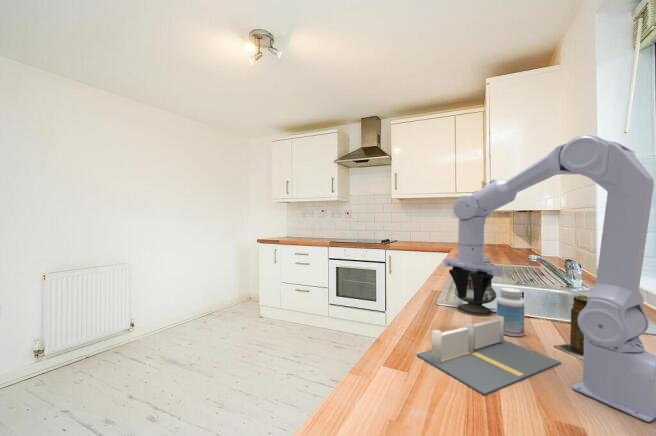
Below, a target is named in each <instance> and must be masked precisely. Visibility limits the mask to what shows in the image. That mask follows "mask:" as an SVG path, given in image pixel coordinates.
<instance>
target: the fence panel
mask: <svg viewBox="0 0 656 436" xmlns="http://www.w3.org/2000/svg"><path fill="white" fill-rule="evenodd" d="M473 324H474V349H478V348H481V347H484V346H488V345H491V344H495V343H498V342H503V340H504V334H503V332H504V317H502V316H497V315H495V316H494V319H490V320H485V321H481V322H477V323H473Z"/></svg>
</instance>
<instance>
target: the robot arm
mask: <svg viewBox="0 0 656 436" xmlns="http://www.w3.org/2000/svg"><path fill="white" fill-rule="evenodd" d="M557 175H560V176H561V175H581V176H584V177H586V178H588V179H590V180H592V181H593V182H594V183H596V184H597V185H598V186H599V187H601V188H602V189H603V190H605V191H606V192H607V196H606V203H605V209H604V210H605V211H604V219H603V225H602V233H601V241H600V247H599V248H600V250H599V254H598V255H599V256H598V264H597V271H596V272H597V273H596V279H595V284H594V286H593V288H592V289H591V291H590V292H589V295H588V296H587V297H588V300H587V304H586V306H585V308H584V309H583V310H582V311H581V312H580V313H579V316H578V325H579V328H580V330H581V331H582V333H583V334H584V360H583V371H582V372H583V374H582V375H583V376H582V380H581V381H579V382H577V383H575V384H573V385H572V386H571V388H572V389H573V390H574V391H576V392H578V393H580V394H583V395H586V396H588V397H590V398H591V399H595V400H597V401H599V402H601V403H604V404H606V405H608V406H610V407H613V408H616V409H618V410H619V411H622V412H624V413H626V414H629V415H631V416H633V417H634V418H638V419H639V420H643V421H645V422H648V423H650V422H652V421H654V419H656V355H654V354H653V353H651V352H649V351H647V350H645V345H644V343H643V342H642V339H641V338H640V336H642V335H643V334H645V333H646V332H647V330H648V328H649V325H650V324H649V318H648V316H647V314H646V313H645V310H644V297H643V295H642V292H641V290H640V284H641V277H642V271H643V270H642V269H643V264H644V259H645V258H644V257H645V250H646V243H647V237H648V236H647V235H648V229H649V221H650V217H651V216H650V215H651V207H652V201H653V194H654V187H655V181H654V177H653V176H652V175H651V174H650V172H649V171H648V170H647V169H646V167H645V166H644V165H643V164H642V162H641V161H640V160H639V159H638V157H637V156H636V154H635V151H634V150H632V149H631V148H628V147H627V146H625V145H622V144H620V143H619V142H616V141H612V140H611V141H610V140H606V139H603V138H601V137H600V136H598V135H594V134H581V135H577V136H575V137H574V138H572V139H570V140H569V141H567V142H566V143H563V144H560V145H558V146H555V147H554V148H553V149H552V151H550V152H549V153H548V154H547V155H545V156H543V157H542V158H540V159H539V160H537V161H536V162H534V163H532V164H530V165H529V166H528V167H526V168H524V169H523V170H521V171H520V172H518V173H517V174H515V175H513V176H512V177H510V178H509V179H507V180H506V179H503V178H498V179H495V178H494V179H491V180H489V182H488V185H486V186H485V187H483V188H481V189H479V190H474V191H473V192H472V193H471V195H470V196H469V195H461V196H460V197H459V198H457V199H456V201H455V202H454V205H453V212H454V215H455V216H456V217H457V218H458V236H457V237H458V241H457V242H458V245H457V247H458V249H457V252H458V253H457V259H456V258H454V259H453V258H444V259H443V261H444V263H443V266H444V267H450V269H449V271H448V273H449V275H451V276H450V277H452V280H453V283H454V285H455V288H456V289H457V293H458V297H459V298H458V297H457V298H458V299H460V298H465V297H466V295H467V282H468V277H469V273H470V271H475V272H477V273H471V278H472V282H473V288H474V302H475V303H479V302H482V300H483V297H484V293H485V291H486V288H487V286H488V284H489V283H490V281H491V282H492V279H494V277H501V276H502V275H503V274H502V273H503V269H502V268H503V267H502V266H498V265H495V266H493V265H489V264H485V263H484V255H485V225H486V220H487V218H488V216H489V215H490V213H492V212H494V211H495V210H497V209H500V208H502V207H504V206H506V205H508V204H510V203H512V202H514V201H515V200H516V197H517V194H518V193H520V192H521V191H524V190H526V189H528V188H531V187H532V186H534V185H537V184H539V183H541V182H544V181H546V180H548V179H550V178H552V177H554V176H557ZM467 267H468V268H467ZM451 268H452V269H451ZM473 268H476V269H473Z"/></svg>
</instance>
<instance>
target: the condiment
mask: <svg viewBox="0 0 656 436" xmlns="http://www.w3.org/2000/svg"><path fill="white" fill-rule="evenodd" d="M572 300H573V304H572V308H571V309H570V334H569V335H570V342H569V344H565V343H563V344H555V345H552V346H553V347H555V348H557V349H559V350H560V351H562V352H565V353H568V354H569V355H571V356H573V357H576V358H578V359H580V360H583V361H584V334H583V333H582V331H581V330H580V328H579V325H578V316H579V313H580V312H581V311H582V310H583V309H584V308H585V306H586V304H587V300H588V296H583V295H582V296H578V295H577V296H574V297H573V299H572Z"/></svg>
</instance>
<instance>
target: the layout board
mask: <svg viewBox="0 0 656 436" xmlns="http://www.w3.org/2000/svg"><path fill="white" fill-rule="evenodd" d="M416 356H417V357H418V358H419V359H421V360H423V361H425V362H426V363H428V364H430V365H431V366H433V367H435V368H436V369H438V370H440V371H441V372H444V373H445V374H446V375H448V376H450V377H451V378H454V379H455V380H457V381H459V382H460V383H461V384H463V385H465V386H467V387H469V388H470V389H472V390H473V391H476V392H477V393H478V394H480V395H482V396H487V395H490V394H493V393H494V392H497V391H499V390H502V389H504V388H507V387H508V386H511V385H514V384H516V383H519V382H520V381H523V380H525V379H528V378H530V377H533V376H535V375H538V374H540V373H542V372H544V371H548V370H549V369H552V368H554V367H556V366H559V365H561V364H562V362H561V361H559V360H557V359H555V358H552V357H550V356H547V355H544V354H542V353H539V352H536V351H533V350H531V349H528V348H526V347H524V346H521V345H518V344H516V343H513V342H511V341H507V340H505V339H503V342H498V343H495V344H491V345H488V346H484V347H481V348H478V349H474V352H473V353H471V352H468V353H466V354H462V355H459V356H456V357H452V358H449V359H446V360H442V361H441V363H435V362H433V361H432V349H429V350H427V351H422V352H419V353H416Z"/></svg>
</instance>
